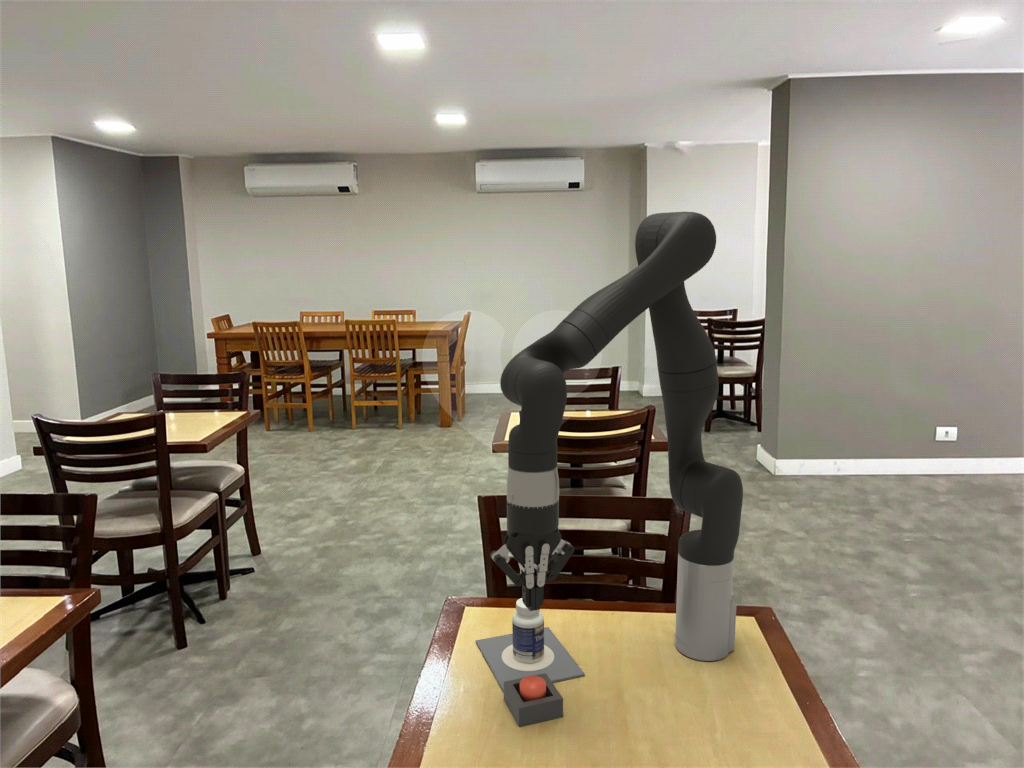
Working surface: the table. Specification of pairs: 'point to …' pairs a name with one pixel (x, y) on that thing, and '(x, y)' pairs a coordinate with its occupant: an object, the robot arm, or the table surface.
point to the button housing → (533, 703)
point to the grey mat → (508, 668)
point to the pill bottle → (527, 634)
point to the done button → (532, 688)
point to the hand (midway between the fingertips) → (532, 608)
